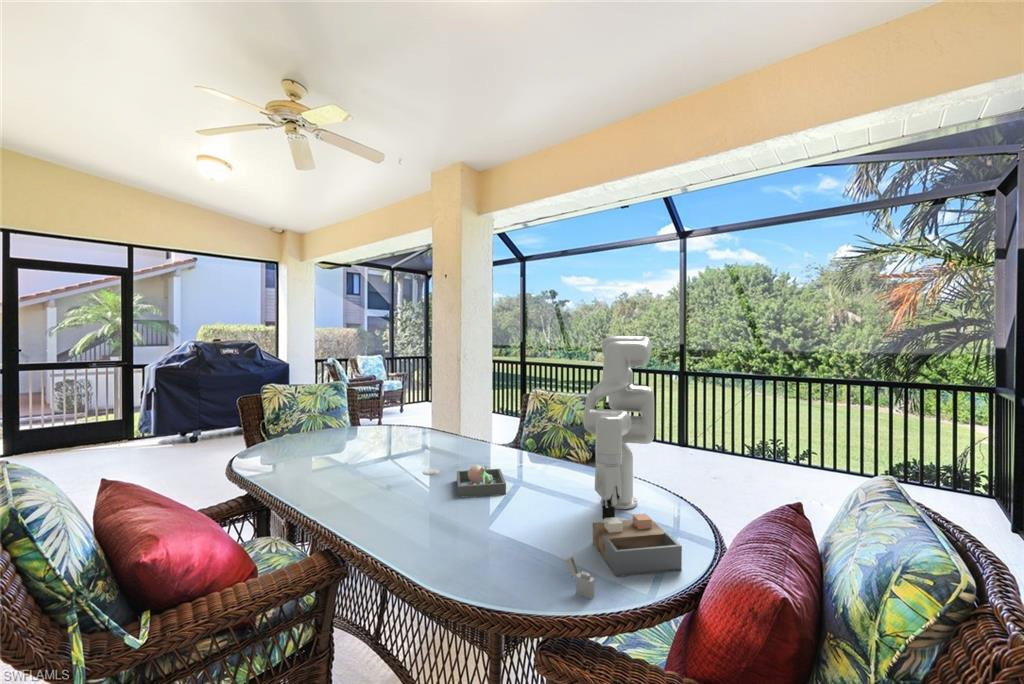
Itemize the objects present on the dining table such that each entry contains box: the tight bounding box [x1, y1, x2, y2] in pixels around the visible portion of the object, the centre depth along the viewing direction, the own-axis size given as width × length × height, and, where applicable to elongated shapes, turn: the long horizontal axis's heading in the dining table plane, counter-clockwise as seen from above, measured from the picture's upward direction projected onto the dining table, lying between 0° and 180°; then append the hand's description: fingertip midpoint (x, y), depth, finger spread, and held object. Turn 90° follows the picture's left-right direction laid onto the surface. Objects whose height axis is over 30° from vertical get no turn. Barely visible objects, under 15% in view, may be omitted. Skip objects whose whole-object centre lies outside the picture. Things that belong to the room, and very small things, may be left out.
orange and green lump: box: [466, 464, 494, 485], centre depth 179 cm, size 12×10×9 cm
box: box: [604, 531, 683, 578], centre depth 120 cm, size 8×18×6 cm, turn 99°
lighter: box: [564, 555, 595, 600], centre depth 109 cm, size 7×2×8 cm, turn 52°
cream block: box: [603, 516, 623, 533], centre depth 129 cm, size 4×4×2 cm
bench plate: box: [592, 519, 665, 561], centre depth 129 cm, size 10×18×6 cm, turn 99°
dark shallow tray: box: [456, 468, 507, 498], centre depth 179 cm, size 18×18×4 cm
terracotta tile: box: [632, 513, 653, 529], centre depth 131 cm, size 4×4×2 cm
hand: (608, 519), depth 132 cm, fingers closed
